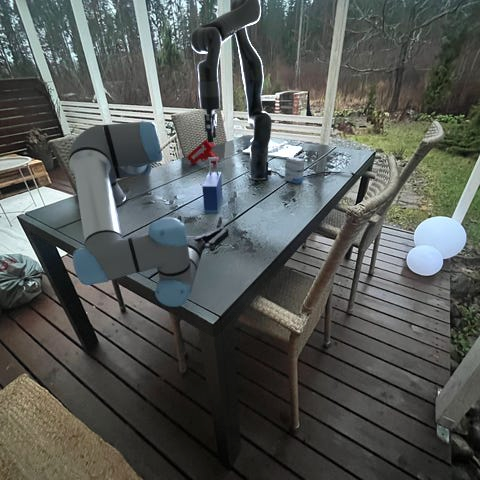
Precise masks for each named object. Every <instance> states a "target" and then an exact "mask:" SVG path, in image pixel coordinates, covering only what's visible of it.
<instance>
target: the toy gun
mask: <svg viewBox="0 0 480 480" xmlns="http://www.w3.org/2000/svg"><path fill="white" fill-rule="evenodd" d="M214 148H215V145H214V142H212V143H208V141H207V139H205V140H204V141H203V142H201V144H199V145H198V146H197V147H195V149H193V150H192V151H191V152H190V153H188V155H186V158H187V160H188V161H189V162H190V164H192V165H195V163H197V162H199V161H200V160H201V162H205V161H206V160H208V157H218V165H219V164H220V161H221V158H220V157H219V156H218V155H217V154H215V153H214V151H213V149H214ZM211 165H212V166H213V167H216V161H211Z"/></svg>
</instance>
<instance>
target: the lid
mask: <svg viewBox="0 0 480 480" xmlns="http://www.w3.org/2000/svg"><path fill="white" fill-rule="evenodd" d="M218 157H219V156H218ZM218 157H208V159H207V161H208V170H209V172H208V173H207V176H206V178H205V180H204V182H203V184H202V186H201V187H202V190H203V189H217V186H218V183H219V180H220V177H221V178H222V172H221V171H219V164H218ZM211 161H216V165H215V167H216V169H215V170H216V172H215V171H214V172H213V171H212V163H211Z"/></svg>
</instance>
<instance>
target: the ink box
mask: <svg viewBox="0 0 480 480" xmlns="http://www.w3.org/2000/svg"><path fill="white" fill-rule="evenodd" d="M305 162H306V159H304V158H299V157H296V156H294V157H289V158H287V159H286V158H285V169H284V176H285V178H284V181H285V182H289V183H293V184H295V185H298V184H300V183H302V182H303V180H304V178H303V176H304V173H305V171H304V170H305Z"/></svg>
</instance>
